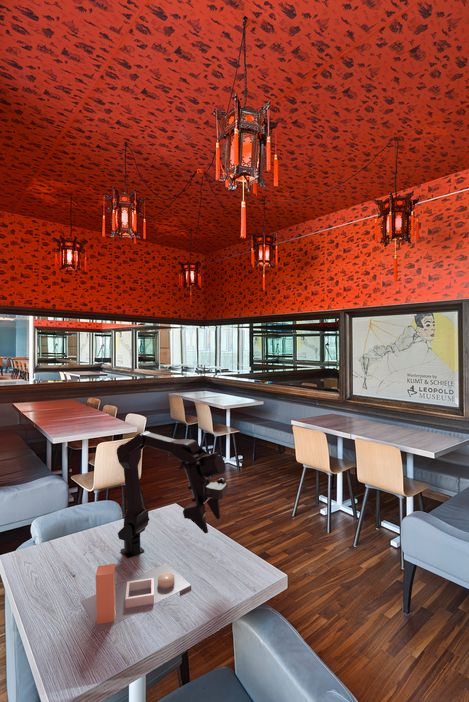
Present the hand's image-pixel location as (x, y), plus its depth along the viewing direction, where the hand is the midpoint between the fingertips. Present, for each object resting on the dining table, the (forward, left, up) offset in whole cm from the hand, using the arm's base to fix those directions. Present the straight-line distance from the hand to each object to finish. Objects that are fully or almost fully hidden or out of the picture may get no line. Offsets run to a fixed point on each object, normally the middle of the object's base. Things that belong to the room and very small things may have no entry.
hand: (212, 525), depth 120 cm
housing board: (-6, -24, -15) cm, 29 cm away
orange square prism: (-2, -34, -14) cm, 37 cm away
